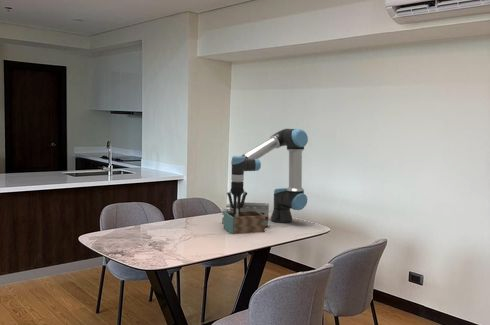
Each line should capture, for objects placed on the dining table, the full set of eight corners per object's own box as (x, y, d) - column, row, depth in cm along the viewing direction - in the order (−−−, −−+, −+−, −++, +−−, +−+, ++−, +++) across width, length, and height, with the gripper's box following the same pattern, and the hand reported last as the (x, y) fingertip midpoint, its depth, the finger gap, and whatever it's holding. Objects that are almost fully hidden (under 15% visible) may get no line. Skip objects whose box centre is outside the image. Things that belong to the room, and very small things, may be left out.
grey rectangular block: (223, 223, 299) (223, 201, 298) (268, 225, 296) (268, 203, 295) (221, 226, 291) (221, 203, 290) (267, 228, 288) (268, 205, 287)
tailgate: (225, 227, 280) (225, 212, 279) (233, 233, 265) (233, 217, 264) (223, 228, 279) (223, 212, 278) (231, 234, 264) (231, 217, 263)
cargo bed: (255, 228, 286) (255, 210, 286) (264, 234, 271) (265, 215, 270) (225, 230, 280) (226, 212, 279) (233, 236, 265) (234, 217, 264)
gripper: (245, 180, 277) (244, 217, 279) (225, 180, 272) (224, 218, 274) (249, 181, 270) (248, 220, 272) (229, 182, 265) (228, 221, 267)
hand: (236, 219), depth 273 cm, fingers closed
